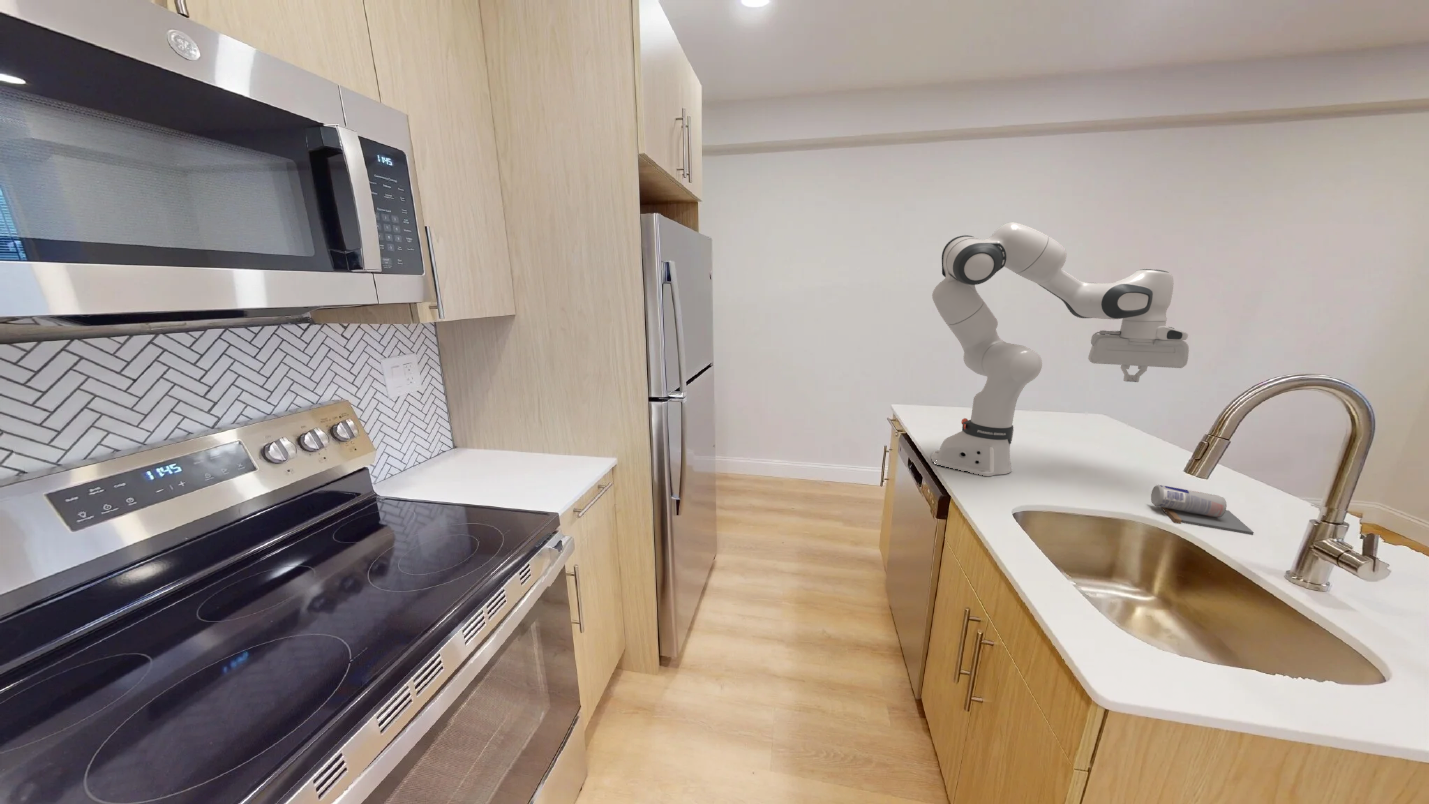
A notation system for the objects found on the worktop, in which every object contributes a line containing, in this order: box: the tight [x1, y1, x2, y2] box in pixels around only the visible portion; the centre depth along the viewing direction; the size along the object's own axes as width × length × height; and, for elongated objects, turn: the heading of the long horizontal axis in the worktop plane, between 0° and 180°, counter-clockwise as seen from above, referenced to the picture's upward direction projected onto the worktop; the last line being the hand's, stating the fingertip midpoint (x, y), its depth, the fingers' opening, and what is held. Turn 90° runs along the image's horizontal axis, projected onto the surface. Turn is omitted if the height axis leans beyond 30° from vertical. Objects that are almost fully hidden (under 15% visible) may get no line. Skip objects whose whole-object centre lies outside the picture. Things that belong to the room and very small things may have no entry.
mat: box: [1172, 509, 1255, 535], centre depth 112 cm, size 12×12×1 cm
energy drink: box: [1150, 484, 1227, 517], centre depth 113 cm, size 5×5×12 cm
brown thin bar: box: [1160, 507, 1182, 524], centre depth 115 cm, size 1×14×1 cm, turn 151°
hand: (1130, 381), depth 128 cm, fingers closed
